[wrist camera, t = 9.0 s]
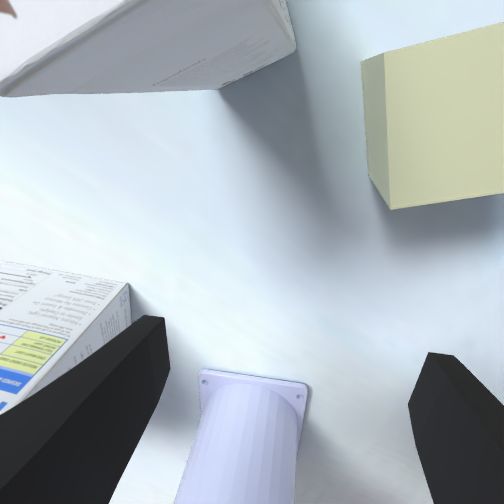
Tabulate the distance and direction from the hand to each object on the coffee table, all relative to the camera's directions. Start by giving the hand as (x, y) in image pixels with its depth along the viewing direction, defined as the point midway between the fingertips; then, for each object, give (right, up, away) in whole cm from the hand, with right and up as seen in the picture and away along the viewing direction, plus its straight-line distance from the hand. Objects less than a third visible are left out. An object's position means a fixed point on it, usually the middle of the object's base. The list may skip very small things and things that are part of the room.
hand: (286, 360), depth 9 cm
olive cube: (+7, +9, +5) cm, 13 cm away
